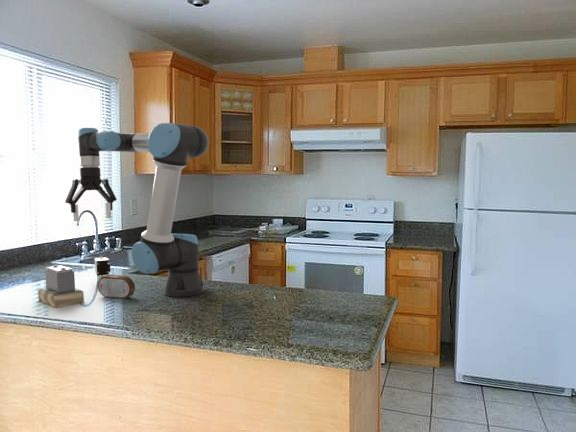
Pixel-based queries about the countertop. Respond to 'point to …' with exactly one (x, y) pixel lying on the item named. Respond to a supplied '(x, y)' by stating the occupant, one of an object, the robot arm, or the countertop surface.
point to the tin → (116, 286)
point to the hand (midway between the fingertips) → (92, 219)
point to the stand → (60, 297)
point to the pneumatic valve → (102, 267)
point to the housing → (60, 279)
